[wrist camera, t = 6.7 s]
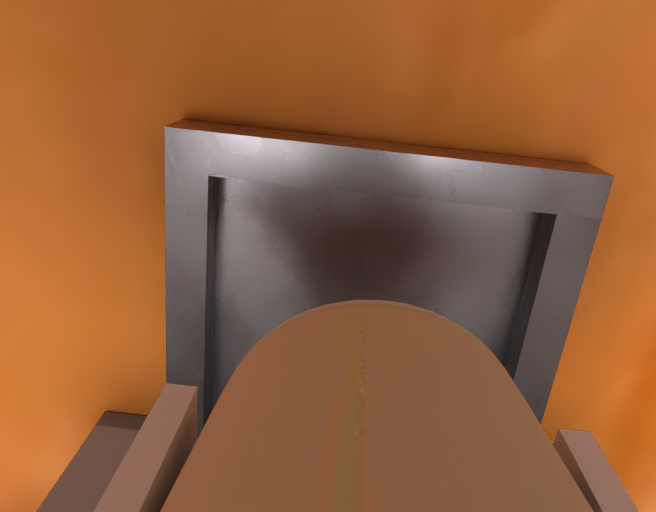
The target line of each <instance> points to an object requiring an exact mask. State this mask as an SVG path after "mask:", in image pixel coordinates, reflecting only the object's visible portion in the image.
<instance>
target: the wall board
mask: <svg viewBox="0 0 656 512" xmlns="http://www.w3.org/2000/svg"><path fill="white" fill-rule="evenodd" d="M146 418H147V416H143V415H135V414H126V413H117V412H109V411H105V412H104V414H103V415H102V417H101V418H100V420H99V421H98V422H97V424H96V425H95V427H94V428H93V430H92V431H91V433H90V434H89V436H88V437H87V438H86V440H85V441H84V443H83V444H82V446H81V447H80V449H79V450H78V452H77V453H76V455H75V456H74V457H73V459H72V460H71V462H70V463H69V465H68V466H67V468H66V469H65V471H64V472H63V474H62V475H61V476H60V478H59V479H58V481H57V482H56V484H55V485H54V487H53V488H52V490H51V491H50V492H49V494H48V495H47V497H46V498H45V500H44V501H43V503H42V504H41V506H40V507H39V509H38V510H37V511H36V512H94V510H95V508H96V506H97V504H98V503H99V501H100V499H101V497H102V496H103V494H104V492H105V490H106V489H107V487H108V485H109V483H110V481H111V480H112V478H113V476H114V474H115V473H116V471H117V469H118V467H119V466H120V464H121V462H122V460H123V458H124V457H125V455H126V453H127V451H128V450H129V448H130V446H131V444H132V443H133V441H134V439H135V437H136V435H137V434H138V432H139V430H140V428H141V427H142V425H143V423H144V421H145V420H146Z"/></svg>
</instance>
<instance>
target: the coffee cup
mask: <svg viewBox="0 0 656 512" xmlns="http://www.w3.org/2000/svg"><path fill="white" fill-rule="evenodd" d="M160 512H594V511H593V510H592V508H591V506H590V505H589V503H588V502H587V500H586V498H585V497H584V495H583V493H582V492H581V490H580V488H579V487H578V485H577V483H576V482H575V480H574V479H573V477H572V475H571V474H570V472H569V470H568V469H567V467H566V465H565V464H564V462H563V460H562V459H561V457H560V456H559V454H558V452H557V451H556V449H555V447H554V446H553V444H552V442H551V441H550V439H549V437H548V436H547V434H546V433H545V431H544V429H543V428H542V426H541V424H540V423H539V421H538V419H537V418H536V416H535V415H534V413H533V411H532V410H531V408H530V406H529V405H528V403H527V401H526V400H525V398H524V397H523V395H522V394H521V392H520V391H519V389H518V388H517V386H516V385H515V383H514V381H513V380H512V378H511V377H510V375H509V374H508V372H507V371H506V369H505V368H504V366H503V365H502V364H501V362H500V361H499V360H498V359H497V357H496V356H495V355H494V354H493V352H492V351H491V350H490V349H489V348H488V347H487V346H486V345H485V344H484V343H483V342H482V341H480V340H479V339H478V338H477V337H475V336H474V335H473V334H471V333H470V332H469V331H468V330H466V329H465V328H463V327H461V326H460V325H458V324H456V323H455V322H453V321H451V320H449V319H448V318H446V317H444V316H442V315H439V314H437V313H435V312H433V311H430V310H427V309H423V308H420V307H417V306H413V305H410V304H406V303H401V302H394V301H385V300H351V301H345V302H338V303H332V304H326V305H323V306H320V307H317V308H313V309H310V310H307V311H305V312H302V313H300V314H298V315H296V316H294V317H292V318H290V319H288V320H286V321H285V322H283V323H282V324H280V325H279V326H277V327H276V328H274V329H273V330H272V331H270V332H269V333H267V334H266V335H265V336H264V337H263V338H261V339H260V340H259V341H258V342H257V343H256V344H255V345H254V346H253V347H252V348H251V349H250V351H249V352H248V353H247V354H246V355H245V357H244V358H243V359H242V361H241V362H240V363H239V365H238V366H237V368H236V369H235V371H234V373H233V374H232V376H231V378H230V380H229V381H228V383H227V385H226V387H225V388H224V390H223V392H222V393H221V395H220V397H219V399H218V401H217V403H216V405H215V406H214V408H213V410H212V412H211V414H210V416H209V418H208V420H207V422H206V424H205V426H204V427H203V429H202V431H201V433H200V435H199V437H198V439H197V441H196V443H195V445H194V447H193V449H192V451H191V453H190V455H189V457H188V458H187V460H186V462H185V464H184V466H183V468H182V470H181V472H180V474H179V476H178V478H177V480H176V482H175V484H174V486H173V487H172V489H171V491H170V493H169V495H168V497H167V499H166V501H165V503H164V505H163V507H162V509H161V511H160Z"/></svg>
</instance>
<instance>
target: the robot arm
mask: <svg viewBox="0 0 656 512" xmlns="http://www.w3.org/2000/svg"><path fill="white" fill-rule="evenodd" d="M197 389H198V387H196V386H187V385H178V384H169V383H166V384H165V386H164V388H163V389H162V391H161V393H160V395H159V397H158V398H157V400H156V402H155V404H154V405H153V407H152V409H151V411H150V412H149V414H148V416H147V418H146V420H145V421H144V423H143V425H142V427H141V428H140V430H139V432H138V434H137V435H136V437H135V439H134V441H133V443H132V444H131V446H130V448H129V450H128V451H127V453H126V455H125V457H124V458H123V460H122V462H121V464H120V466H119V467H118V469H117V471H116V473H115V474H114V476H113V478H112V480H111V481H110V483H109V485H108V487H107V489H106V490H105V492H104V494H103V496H102V497H101V499H100V501H99V503H98V504H97V506H96V508H95V510H94V512H160V511H161V509H162V507H163V505H164V503H165V501H166V499H167V497H168V495H169V493H170V491H171V489H172V487H173V486H174V484H175V482H176V480H177V478H178V476H179V474H180V472H181V470H182V468H183V466H184V464H185V462H186V460H187V458H188V457H189V455H190V453H191V451H192V449H193V447H194V445H195V443H196V441H197ZM554 447H555V449H556V451H557V452H558V454H559V456H560V457H561V459H562V460H563V462H564V464H565V465H566V467H567V469H568V470H569V472H570V474H571V475H572V477H573V479H574V480H575V482H576V483H577V485H578V487H579V488H580V490H581V492H582V493H583V495H584V497H585V498H586V500H587V502H588V503H589V505H590V506H591V508H592V510H593V511H594V512H639V511H638V509H637V508H636V506H635V504H634V503H633V501H632V499H631V498H630V496H629V494H628V493H627V491H626V489H625V488H624V486H623V484H622V483H621V481H620V479H619V478H618V476H617V474H616V473H615V471H614V469H613V468H612V466H611V465H610V463H609V461H608V460H607V458H606V456H605V455H604V453H603V451H602V450H601V448H600V446H599V445H598V443H597V441H596V440H595V438H594V436H593V435H592V433H591V432H588V431H579V430H570V429H562V428H559V429H558V433H557V436H556V439H555V442H554Z"/></svg>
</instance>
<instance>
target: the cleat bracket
mask: <svg viewBox="0 0 656 512" xmlns="http://www.w3.org/2000/svg"><path fill="white" fill-rule="evenodd" d="M613 177H614V176H613V175H611V174H609V173H607V172H605V171H603V170H601V169H599V168H597V167H595V166H593V165H591V164H587V163H578V162H569V161H560V160H551V159H542V158H532V157H523V156H514V155H505V154H496V153H487V152H478V151H469V150H459V149H450V148H441V147H432V146H423V145H414V144H405V143H396V142H386V141H377V140H368V139H359V138H350V137H341V136H332V135H323V134H313V133H304V132H295V131H286V130H277V129H268V128H259V127H250V126H241V125H231V124H222V123H213V122H204V121H195V120H186V119H181V120H179V121H177V122H174V123H172V124H170V125H168V126H165V253H166V380H167V383H169V384H178V385H187V386H196V387H198V389H197V439H198V437H199V435H200V433H201V431H202V429H203V427H204V426H205V424H206V422H207V420H208V418H209V416H210V414H211V412H212V410H213V408H214V406H215V405H216V403H217V401H218V399H219V397H220V395H221V393H222V392H223V390H224V388H225V387H226V385H227V383H228V381H229V380H230V378H231V376H232V374H233V373H234V371H235V369H236V368H237V366H238V365H239V363H240V362H241V361H242V359H243V358H244V357H245V355H246V354H247V353H248V352H249V351H250V349H251V348H252V347H253V346H254V345H255V344H256V343H257V342H258V341H259V340H260V339H261V338H263V337H264V336H265V335H266V334H267V333H269V332H270V331H272V330H273V329H274V328H276V327H277V326H279V325H280V324H282V323H283V322H285V321H286V320H288V319H290V318H292V317H294V316H296V315H298V314H300V313H302V312H305V311H307V310H310V309H313V308H317V307H320V306H323V305H326V304H332V303H338V302H345V301H351V300H385V301H394V302H401V303H406V304H410V305H413V306H417V307H420V308H423V309H427V310H430V311H433V312H435V313H437V314H439V315H442V316H444V317H446V318H448V319H449V320H451V321H453V322H455V323H456V324H458V325H460V326H461V327H463V328H465V329H466V330H468V331H469V332H470V333H471V334H473V335H474V336H475V337H477V338H478V339H479V340H480V341H482V342H483V343H484V344H485V345H486V346H487V347H488V348H489V349H490V350H491V351H492V352H493V354H494V355H495V356H496V357H497V359H498V360H499V361H500V362H501V364H502V365H503V366H504V368H505V369H506V371H507V372H508V374H509V375H510V377H511V378H512V380H513V381H514V383H515V385H516V386H517V388H518V389H519V391H520V392H521V394H522V395H523V397H524V398H525V400H526V401H527V403H528V405H529V406H530V408H531V410H532V411H533V413H534V415H535V416H536V418H537V419H538V421H539V423H540V424H541V422H542V418H543V415H544V412H545V408H546V405H547V401H548V398H549V395H550V391H551V388H552V384H553V381H554V378H555V374H556V371H557V367H558V364H559V361H560V357H561V354H562V350H563V347H564V344H565V340H566V337H567V334H568V330H569V327H570V323H571V320H572V317H573V313H574V310H575V306H576V303H577V300H578V296H579V293H580V289H581V286H582V283H583V279H584V276H585V272H586V269H587V266H588V262H589V259H590V255H591V252H592V249H593V245H594V242H595V239H596V235H597V232H598V228H599V225H600V222H601V218H602V215H603V211H604V208H605V205H606V201H607V198H608V194H609V191H610V188H611V184H612V181H613Z"/></svg>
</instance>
